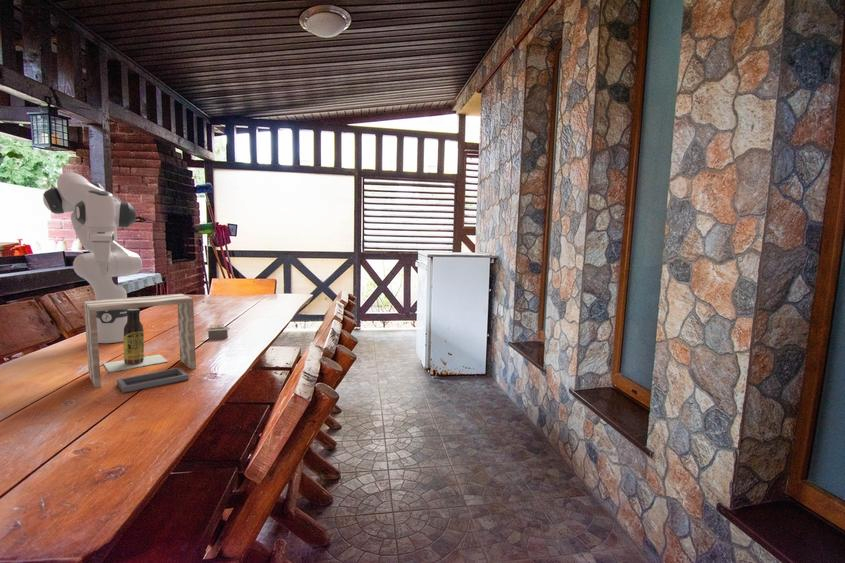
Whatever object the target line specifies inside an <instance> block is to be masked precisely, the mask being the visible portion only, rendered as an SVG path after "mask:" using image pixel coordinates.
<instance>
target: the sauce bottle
mask: <svg viewBox="0 0 845 563" xmlns="http://www.w3.org/2000/svg"><path fill="white" fill-rule="evenodd" d="M126 313H127V323H126V325H125V327H124V335H123V336H124V341H123V360H124V362H125V364H138V363H141V362H143V360H144V357H145V340H144V339H145V335H144V334H145V332H144V326H143V323H142V322H141V321H140V320H141V319H140V313H141V309H140V308H131V309H127V312H126Z"/></svg>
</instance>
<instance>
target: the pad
mask: <svg viewBox="0 0 845 563" xmlns="http://www.w3.org/2000/svg"><path fill="white" fill-rule="evenodd" d="M124 360H125V359H121V360H115V361H110V362H104V363H102V364H103V366H104V367H105V369H106V370H107V372H108V373H113V372H120V370H121V371H126V370H131V369H137V367H138V368H142V367H143V366H144V367H149V366H154V365H153V364H155V365H159V364H160V363H161V364H166V363H165V362H167V363H168V362H169V361H168V360H167V359H166V358H165V356H163V355H161V354H159V353H158V354H154V355H153V354H152V355H147V356H144V360H143V362H141V363H138V364H125V362H124Z"/></svg>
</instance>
